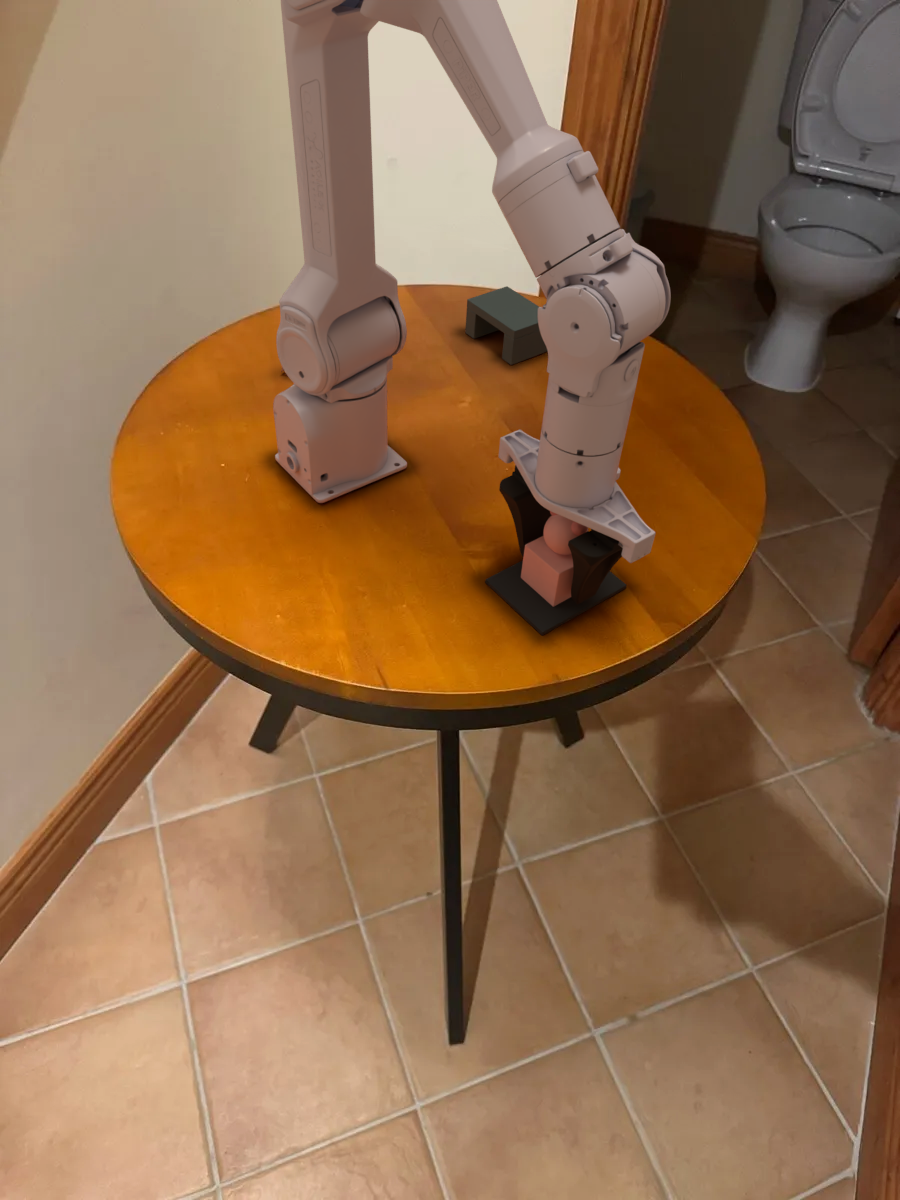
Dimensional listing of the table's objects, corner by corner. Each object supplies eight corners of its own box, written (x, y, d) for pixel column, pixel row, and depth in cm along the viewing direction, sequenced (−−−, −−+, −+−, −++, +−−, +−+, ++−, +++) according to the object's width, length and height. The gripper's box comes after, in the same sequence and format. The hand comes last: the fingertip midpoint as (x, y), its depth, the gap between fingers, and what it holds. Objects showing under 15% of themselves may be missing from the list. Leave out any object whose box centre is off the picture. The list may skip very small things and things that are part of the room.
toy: (553, 607, 70) (565, 538, 65) (520, 577, 73) (529, 508, 67) (594, 584, 72) (609, 516, 67) (560, 556, 75) (573, 488, 69)
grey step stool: (511, 365, 96) (514, 331, 93) (465, 332, 100) (467, 299, 97) (550, 350, 98) (555, 316, 95) (503, 319, 102) (507, 285, 100)
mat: (542, 635, 69) (542, 632, 69) (484, 582, 73) (485, 579, 72) (626, 588, 73) (627, 584, 73) (567, 540, 77) (568, 536, 76)
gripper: (701, 465, 60) (659, 607, 70) (556, 366, 68) (536, 506, 77) (626, 503, 57) (592, 646, 66) (482, 395, 65) (471, 537, 74)
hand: (557, 573), depth 72 cm, fingers open, 5 cm apart
